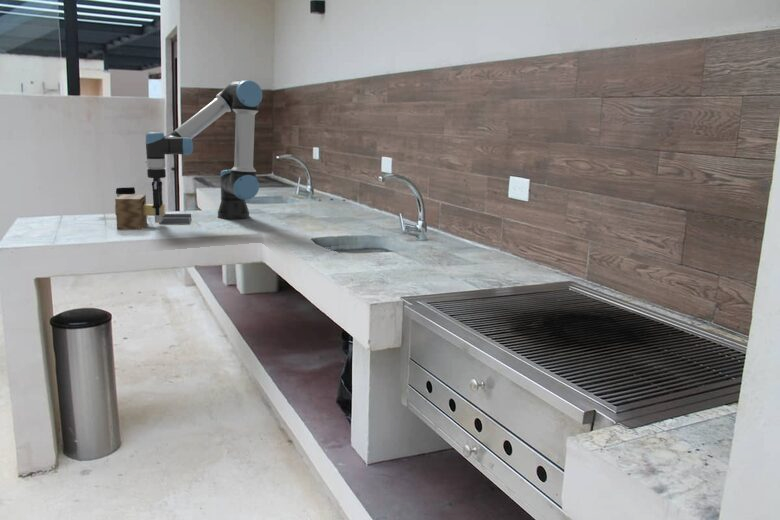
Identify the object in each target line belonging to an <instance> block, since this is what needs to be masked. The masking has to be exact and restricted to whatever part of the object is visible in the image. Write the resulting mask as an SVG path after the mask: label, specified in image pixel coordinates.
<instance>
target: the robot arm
mask: <svg viewBox="0 0 780 520" xmlns="http://www.w3.org/2000/svg"><path fill="white" fill-rule="evenodd" d="M261 88H262V87H261V86H260V85H259V84H258V83H257V82H255V81H253V80H249V79H242V80H234V81H232V82H230V83H229V84H228V85H227V86H226V87H225V88H223V89H222V90H221V91H219V93H217V94H216V96H215V98H214V99H213V100H211V102H209V103H208V104H207V105H205V106H204V107H203V108H201V109H200V110H199V111H198V112H196V113H195V114H194V115H193V116H191V117H190V118H189V119H188V120H186V121H185V122H184V123H182V124H181V125H180V126H178V127H177V128H176V129H175V130H174V131H172V132H171V133H169V134H168V135H164V132H158V131H157V132H155V131H152V132H149V131H148V132H147V133H146V134H145V149H146V152H145V153H146V160H145V161H144V162H145V163H146V168H147V170H146V171H147V173H146V175H147V178H149V179H150V178H151V179H152V182H151V186H152V189H151V190H152V200H153V201H152V202H153V203H152V204H153V206H152V208H154V215H155V216H154V223H158V224H159V223H161V222H162V221H163V216H161V208H160V207H161V206H160V204H164V202H163V181H161V180H162V179H165V178H166V176H167V173H166V169H165V168H166V156H167V155H168V156H169V155H184V156H185V155H191V154H192V153H193V151H194V142H193V140H192V139H193V138H195V137H196V136H197V135H199V134H200V133H201V132H203V131H204V130H205V129H206V128H208V127H209V126H210V125H212V124H213V123H214V122H216V121H217V120H218V119H219V118H220V117H222V116H224V115H225V113H231V112H232V111H233V112H234V114H235V132H234V136H235V137H234V139H235V140H234V160H233V161H234V165H233V167H232V168H231V169H223V170H221V171H220V176H219V179H220V204H219V207H218V210H217V217H218V218H219V219H225V220H227V219H229V220H239V219H247V218H249V217H250V210H249V208H248V204H247V201H246V200H251V199H254V198H255V197H256V195H258V193H259V190H260V183H259V180H258V179H257V170H256V169H255V167H254V149H255V124H256V123H255V119H256V118H255V117H256V114H257V113H259V107H260V106H259V105H260V103H261V102H262V100H263V90H262V89H261Z"/></svg>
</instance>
